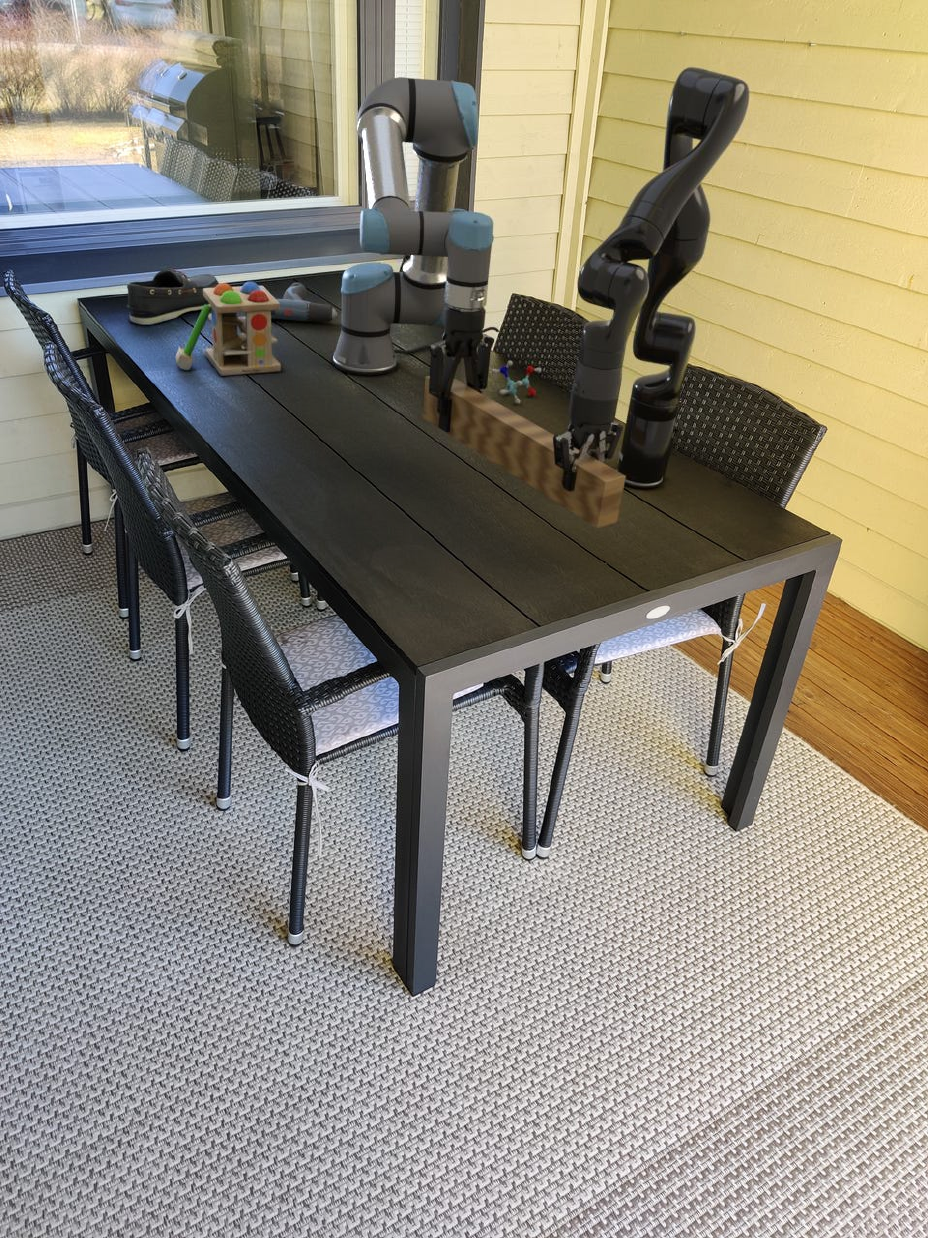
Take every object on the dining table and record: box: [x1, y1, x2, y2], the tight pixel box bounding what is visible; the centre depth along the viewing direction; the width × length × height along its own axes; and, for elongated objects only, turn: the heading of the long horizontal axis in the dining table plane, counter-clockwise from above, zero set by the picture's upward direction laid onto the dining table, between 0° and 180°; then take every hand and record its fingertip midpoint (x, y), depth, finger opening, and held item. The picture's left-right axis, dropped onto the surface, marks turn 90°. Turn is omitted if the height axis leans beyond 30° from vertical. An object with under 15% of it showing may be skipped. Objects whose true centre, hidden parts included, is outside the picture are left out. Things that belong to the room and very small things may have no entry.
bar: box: [422, 375, 626, 529], centre depth 176 cm, size 50×5×8 cm, turn 37°
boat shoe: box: [126, 268, 220, 325], centre depth 258 cm, size 13×33×10 cm, turn 147°
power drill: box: [271, 282, 338, 322], centre depth 265 cm, size 5×19×20 cm
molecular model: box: [491, 360, 542, 405], centre depth 227 cm, size 12×10×10 cm
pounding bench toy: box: [174, 281, 282, 377], centre depth 225 cm, size 23×14×18 cm, turn 116°
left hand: (455, 426), depth 189 cm, fingers closed on bar, 5 cm apart
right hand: (579, 485), depth 165 cm, fingers closed on bar, 4 cm apart
